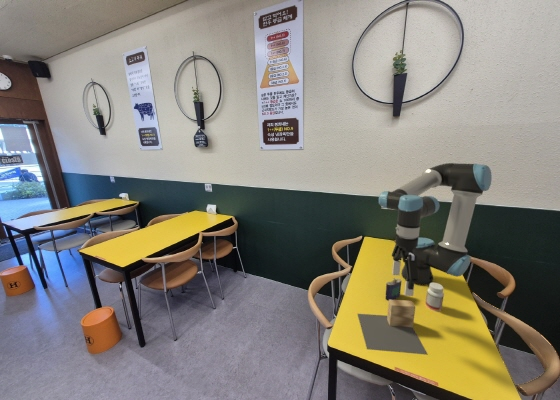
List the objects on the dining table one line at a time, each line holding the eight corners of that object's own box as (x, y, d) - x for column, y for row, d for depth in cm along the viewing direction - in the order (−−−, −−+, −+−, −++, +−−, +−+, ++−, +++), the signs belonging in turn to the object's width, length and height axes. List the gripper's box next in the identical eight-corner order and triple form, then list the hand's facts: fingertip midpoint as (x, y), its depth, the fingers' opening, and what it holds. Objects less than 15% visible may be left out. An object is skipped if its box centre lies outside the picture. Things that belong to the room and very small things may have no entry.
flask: (396, 293, 112) (398, 274, 110) (402, 296, 110) (404, 277, 107) (383, 299, 109) (385, 279, 106) (388, 302, 106) (390, 283, 104)
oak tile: (409, 320, 94) (411, 300, 92) (412, 327, 91) (415, 306, 89) (387, 319, 96) (388, 299, 93) (389, 325, 92) (391, 305, 90)
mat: (406, 317, 97) (407, 316, 97) (427, 355, 79) (427, 354, 79) (357, 314, 100) (357, 313, 100) (366, 349, 82) (367, 349, 82)
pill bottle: (432, 301, 106) (435, 280, 103) (444, 310, 100) (448, 288, 97) (422, 304, 104) (424, 283, 102) (433, 313, 99) (437, 291, 96)
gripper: (386, 224, 97) (382, 267, 102) (409, 249, 73) (403, 304, 78) (404, 224, 96) (400, 268, 101) (434, 250, 72) (426, 306, 77)
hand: (401, 284), depth 90 cm, fingers open, 13 cm apart
